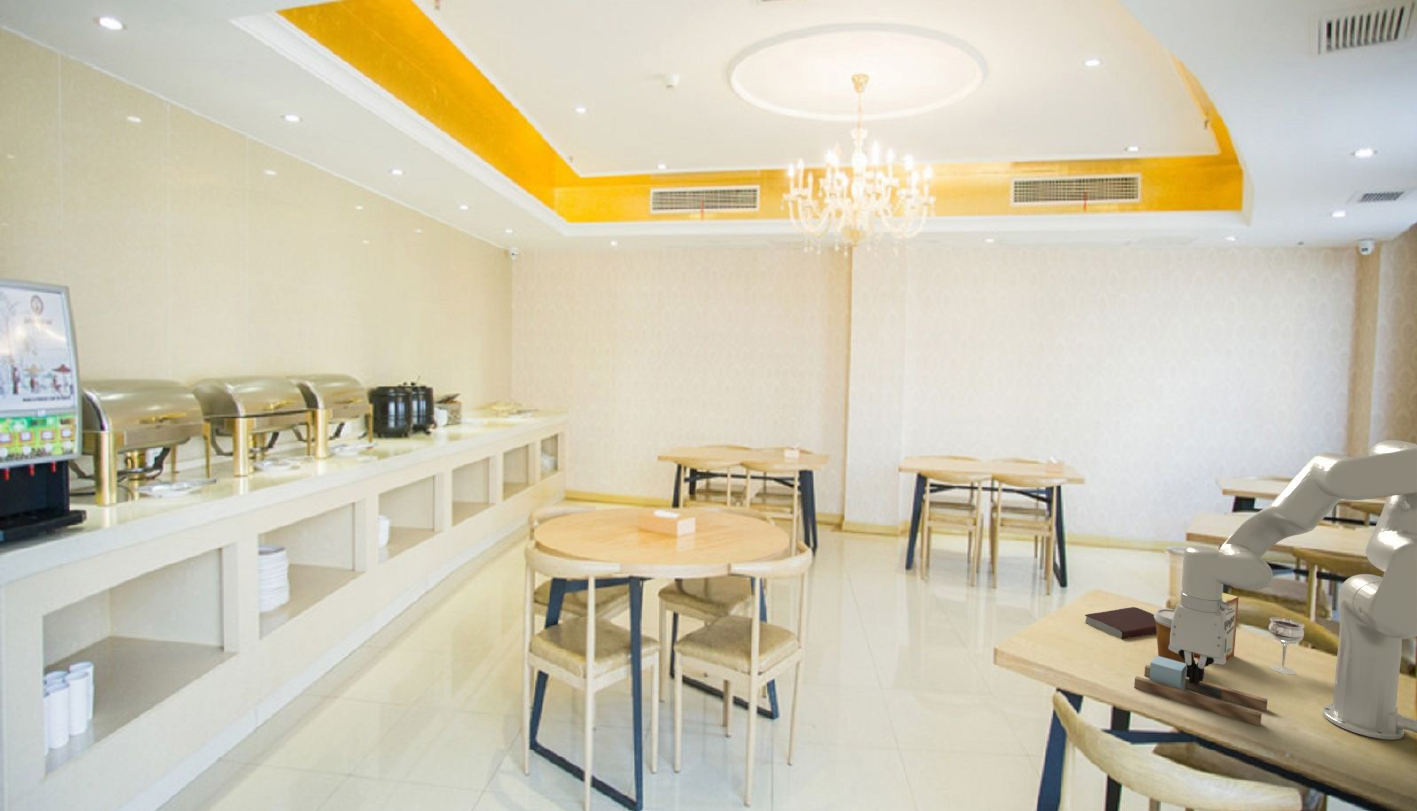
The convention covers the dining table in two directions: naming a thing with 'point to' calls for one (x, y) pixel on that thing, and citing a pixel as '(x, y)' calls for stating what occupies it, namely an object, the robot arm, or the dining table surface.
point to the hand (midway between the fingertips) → (1194, 681)
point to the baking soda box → (1229, 623)
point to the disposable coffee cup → (1165, 634)
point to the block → (1168, 672)
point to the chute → (1207, 702)
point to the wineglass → (1285, 637)
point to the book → (1124, 622)
